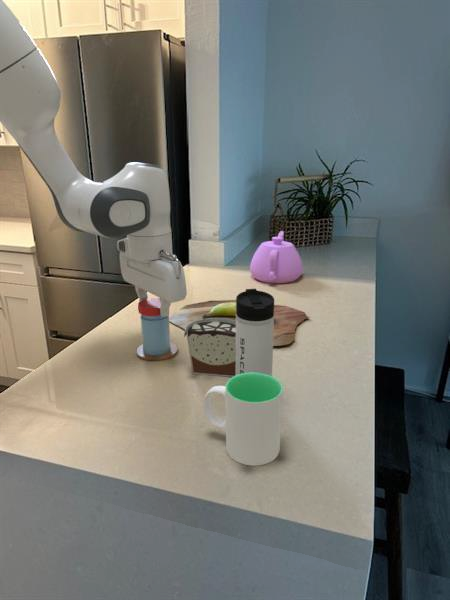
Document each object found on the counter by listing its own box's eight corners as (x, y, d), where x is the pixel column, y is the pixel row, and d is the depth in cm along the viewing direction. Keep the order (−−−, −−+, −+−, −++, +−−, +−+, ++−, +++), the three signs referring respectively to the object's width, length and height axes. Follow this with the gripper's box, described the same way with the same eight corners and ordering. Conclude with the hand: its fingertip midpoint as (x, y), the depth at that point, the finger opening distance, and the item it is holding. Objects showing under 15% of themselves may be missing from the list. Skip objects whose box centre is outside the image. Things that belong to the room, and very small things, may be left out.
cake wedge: (250, 363, 89) (251, 318, 86) (246, 378, 83) (247, 331, 80) (192, 358, 91) (191, 315, 88) (185, 373, 86) (183, 326, 82)
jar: (142, 356, 91) (139, 315, 88) (143, 344, 97) (139, 305, 94) (171, 354, 92) (169, 313, 89) (169, 342, 98) (167, 303, 94)
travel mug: (265, 389, 80) (268, 287, 73) (275, 410, 73) (279, 300, 67) (232, 393, 79) (232, 289, 72) (239, 414, 72) (240, 302, 66)
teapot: (300, 288, 135) (302, 245, 130) (244, 285, 138) (245, 243, 133) (303, 267, 158) (306, 230, 153) (255, 265, 161) (256, 228, 156)
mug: (193, 450, 64) (190, 389, 60) (215, 419, 71) (214, 363, 67) (270, 471, 60) (273, 407, 56) (285, 437, 67) (288, 378, 63)
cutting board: (315, 310, 117) (316, 297, 116) (293, 353, 93) (293, 337, 92) (197, 295, 129) (197, 283, 128) (151, 330, 105) (150, 316, 104)
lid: (174, 311, 91) (174, 303, 90) (148, 318, 87) (148, 310, 87) (158, 303, 96) (158, 296, 95) (133, 310, 92) (132, 302, 91)
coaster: (136, 362, 90) (136, 360, 90) (136, 344, 98) (136, 342, 98) (179, 358, 91) (179, 356, 91) (176, 340, 100) (176, 338, 99)
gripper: (193, 253, 81) (195, 321, 86) (138, 236, 96) (142, 295, 101) (165, 259, 77) (168, 329, 82) (112, 240, 92) (118, 301, 97)
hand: (153, 310), depth 91 cm, fingers closed on lid, 6 cm apart
